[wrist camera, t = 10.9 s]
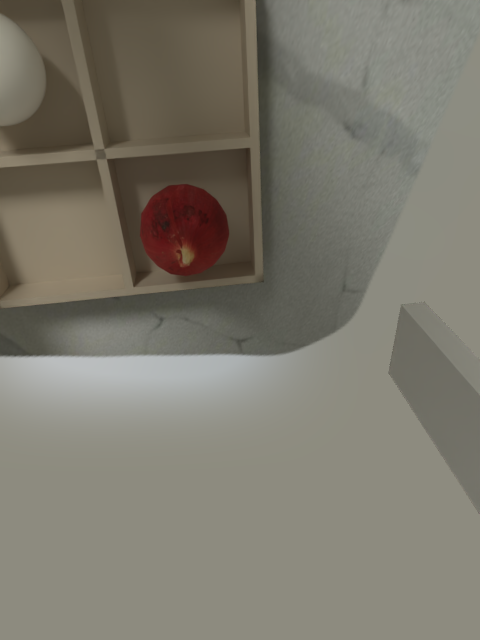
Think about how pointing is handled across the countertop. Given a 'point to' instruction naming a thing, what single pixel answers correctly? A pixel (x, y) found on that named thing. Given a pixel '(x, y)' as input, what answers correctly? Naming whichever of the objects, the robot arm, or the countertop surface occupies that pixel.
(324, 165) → the countertop surface
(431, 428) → the robot arm
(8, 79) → the ceramic egg
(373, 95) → the countertop surface
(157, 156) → the wooden tray
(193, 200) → the onion
